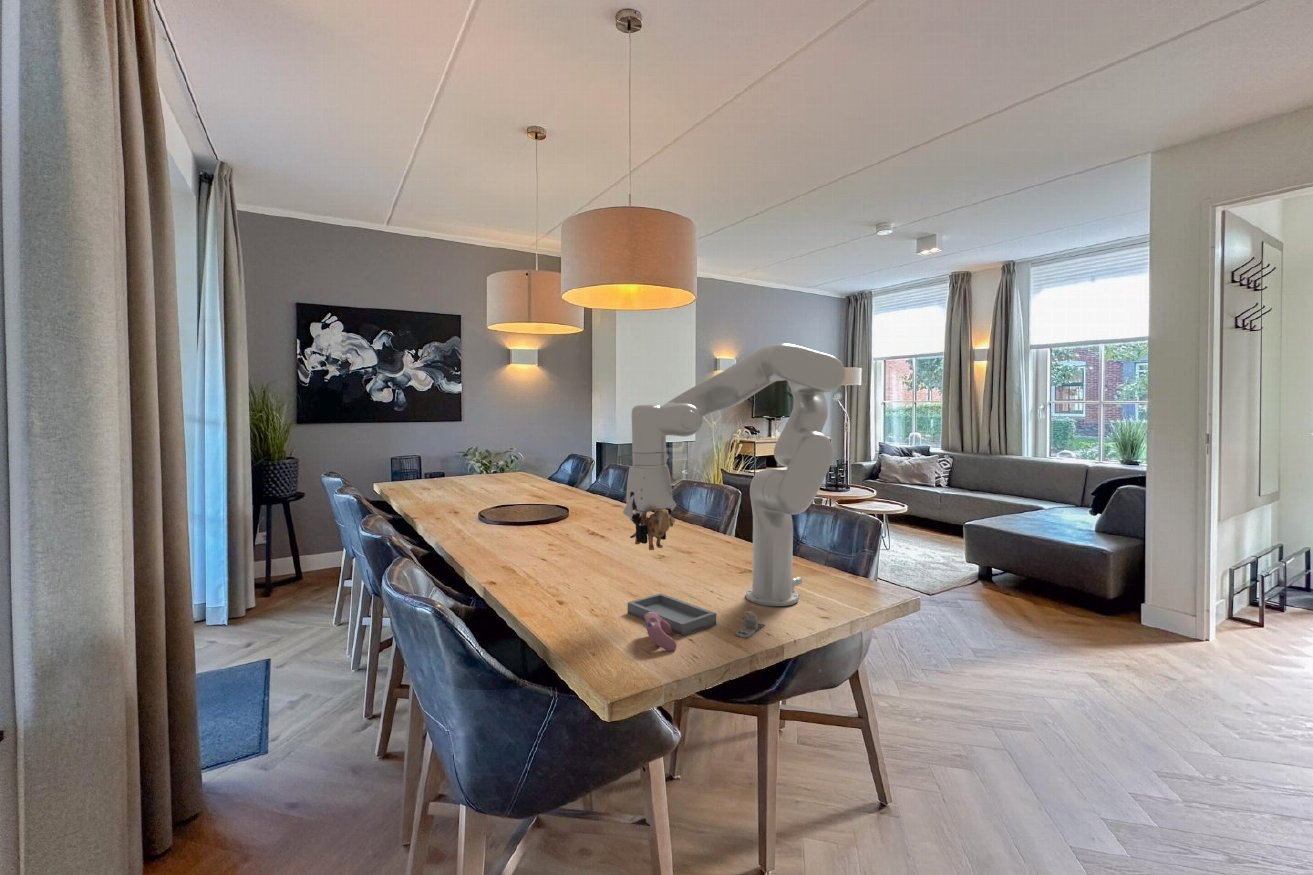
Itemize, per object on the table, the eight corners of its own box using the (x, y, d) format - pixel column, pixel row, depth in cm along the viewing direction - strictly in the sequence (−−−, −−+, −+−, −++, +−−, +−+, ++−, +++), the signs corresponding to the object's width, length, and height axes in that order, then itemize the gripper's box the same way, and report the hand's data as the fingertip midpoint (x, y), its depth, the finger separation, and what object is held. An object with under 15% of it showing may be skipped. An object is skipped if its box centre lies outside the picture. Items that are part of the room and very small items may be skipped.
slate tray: (660, 603, 140) (660, 593, 139) (716, 624, 126) (716, 613, 126) (627, 613, 133) (627, 602, 133) (682, 636, 119) (682, 624, 119)
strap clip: (747, 640, 118) (748, 619, 118) (734, 637, 120) (734, 616, 120) (765, 627, 125) (766, 607, 125) (752, 624, 127) (753, 605, 127)
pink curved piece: (653, 640, 122) (638, 611, 121) (673, 630, 122) (658, 600, 121) (657, 660, 112) (641, 629, 111) (678, 649, 112) (662, 617, 111)
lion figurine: (678, 549, 129) (678, 509, 129) (659, 553, 126) (659, 512, 126) (638, 538, 141) (638, 501, 140) (620, 541, 138) (620, 503, 137)
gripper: (667, 456, 140) (669, 532, 141) (608, 462, 129) (610, 544, 130) (688, 458, 134) (690, 537, 135) (628, 464, 123) (631, 550, 124)
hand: (651, 539), depth 132 cm, fingers closed on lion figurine, 4 cm apart
